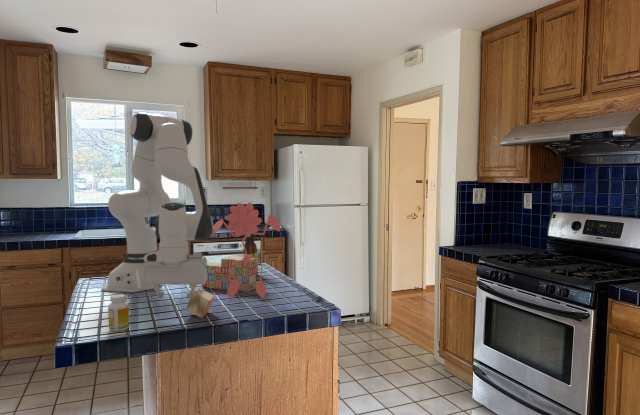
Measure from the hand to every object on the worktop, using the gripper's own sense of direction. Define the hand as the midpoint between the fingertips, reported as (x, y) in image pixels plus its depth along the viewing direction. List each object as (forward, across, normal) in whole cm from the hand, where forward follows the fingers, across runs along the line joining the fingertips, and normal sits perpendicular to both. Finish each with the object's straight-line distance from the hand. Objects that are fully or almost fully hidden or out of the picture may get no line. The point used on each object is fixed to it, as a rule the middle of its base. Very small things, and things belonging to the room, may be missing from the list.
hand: (175, 297), depth 142 cm
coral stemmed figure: (+6, -19, -17) cm, 26 cm away
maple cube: (0, -5, 0) cm, 5 cm away
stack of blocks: (+6, -9, -35) cm, 37 cm away
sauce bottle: (+6, -14, -57) cm, 59 cm away
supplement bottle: (+6, +12, +13) cm, 19 cm away
